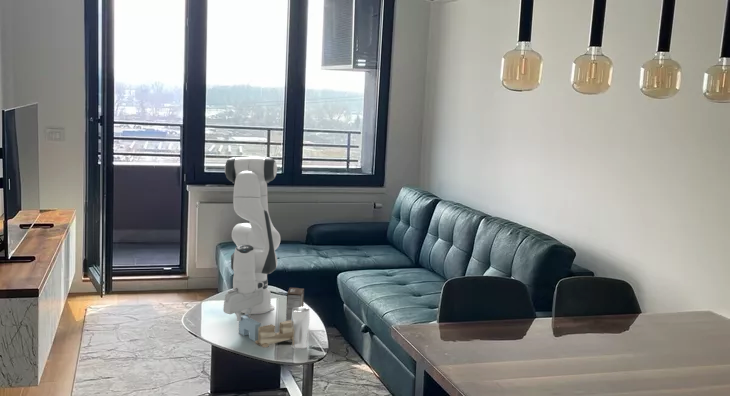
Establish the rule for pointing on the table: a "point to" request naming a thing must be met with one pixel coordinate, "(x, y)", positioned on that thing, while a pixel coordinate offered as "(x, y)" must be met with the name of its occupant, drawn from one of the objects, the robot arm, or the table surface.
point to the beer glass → (300, 327)
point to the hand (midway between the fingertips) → (243, 319)
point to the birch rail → (274, 334)
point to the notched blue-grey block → (249, 328)
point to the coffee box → (294, 300)
